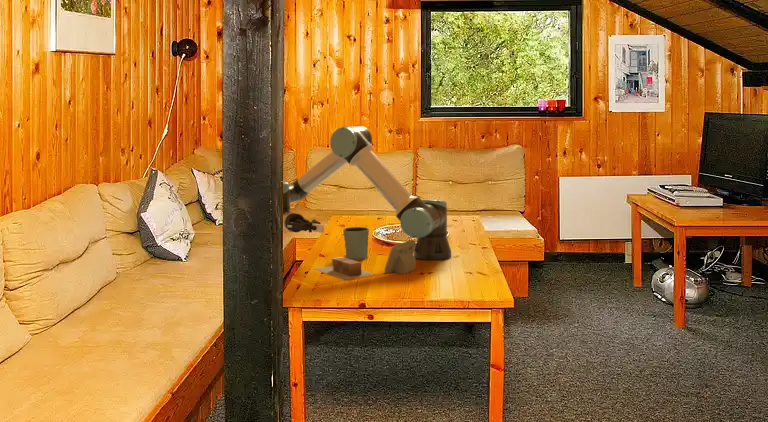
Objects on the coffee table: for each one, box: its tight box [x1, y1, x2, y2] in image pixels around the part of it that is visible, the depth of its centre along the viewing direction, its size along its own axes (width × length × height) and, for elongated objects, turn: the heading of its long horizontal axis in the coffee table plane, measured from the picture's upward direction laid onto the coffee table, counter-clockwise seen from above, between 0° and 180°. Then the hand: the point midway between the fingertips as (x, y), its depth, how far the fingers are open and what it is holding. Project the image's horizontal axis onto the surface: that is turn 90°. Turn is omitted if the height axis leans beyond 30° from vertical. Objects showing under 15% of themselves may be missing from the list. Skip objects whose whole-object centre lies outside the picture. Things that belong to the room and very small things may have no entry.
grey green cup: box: [342, 226, 370, 261], centre depth 323 cm, size 10×10×12 cm
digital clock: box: [384, 239, 417, 275], centre depth 300 cm, size 16×9×11 cm, turn 138°
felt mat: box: [314, 265, 376, 280], centre depth 299 cm, size 22×13×1 cm, turn 35°
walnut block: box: [331, 256, 362, 277], centre depth 297 cm, size 4×4×13 cm
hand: (322, 228), depth 309 cm, fingers closed
